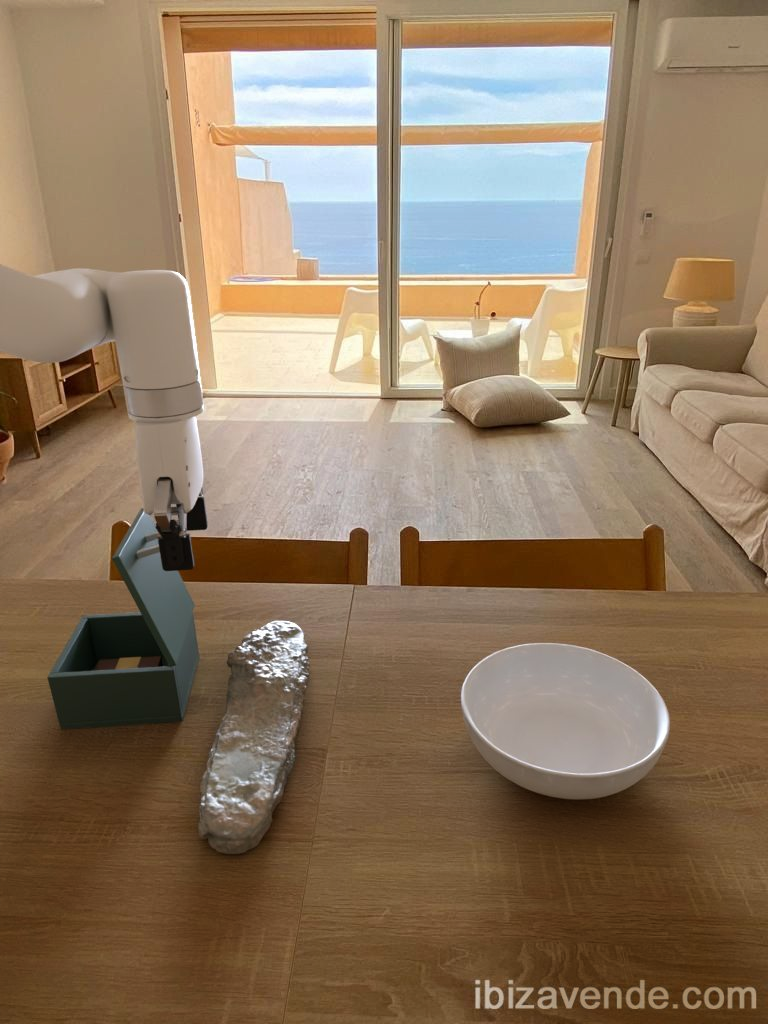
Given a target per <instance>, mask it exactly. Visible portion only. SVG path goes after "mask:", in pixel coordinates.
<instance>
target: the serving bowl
mask: <svg viewBox="0 0 768 1024" xmlns="http://www.w3.org/2000/svg"><path fill="white" fill-rule="evenodd" d="M460 705H461V711H462V717H463V721H464V725H465V728H466V731H467V733H468V736H469V738H470V740H471V742H472V744H473V745H474V747H475V749H476V750H477V751H478V753H479V755H480V756H481V757H482V758H483V759H484V760H485V761H486V762H487V763H488V764H489V765H490V766H491V768H493V769H494V770H495V771H496V772H498V773H499V774H500V775H502V776H503V777H504V778H505V779H507V780H509V781H510V782H512V783H514V784H515V785H517V786H519V787H521V788H523V789H526V790H528V791H531V792H533V793H536V794H539V795H543V796H547V797H551V798H556V799H557V798H558V799H564V800H592V799H601V798H604V797H608V796H611V795H614V794H617V793H620V792H622V791H624V790H627V789H628V788H630V787H632V786H633V785H635V784H637V783H638V782H639V781H641V780H642V779H643V778H644V777H645V776H646V775H648V773H649V772H650V771H651V770H652V769H653V768H654V766H655V765H656V764H657V762H658V761H659V759H660V757H661V755H662V753H663V751H664V750H665V747H666V744H667V742H668V740H669V736H670V732H671V719H670V713H669V710H668V707H667V704H666V702H665V700H664V699H663V697H662V696H661V694H660V693H659V691H658V690H657V689H656V687H655V686H654V685H653V684H652V683H651V682H650V681H649V680H648V679H647V678H645V676H643V675H642V674H641V673H639V671H637V670H636V669H634V668H632V667H631V666H630V665H627V664H626V663H624V662H623V661H620V660H618V659H617V658H614V657H612V656H609V655H607V654H605V653H603V652H599V651H597V650H594V649H591V648H587V647H583V646H578V645H573V644H565V643H554V642H553V643H552V642H538V643H537V642H536V643H525V644H519V645H514V646H510V647H506V648H504V649H501V650H498V651H496V652H493V653H492V654H489V655H488V656H486V657H484V658H483V659H481V660H480V661H479V662H478V663H477V664H475V665H474V667H472V669H471V670H470V671H469V673H468V674H467V676H466V677H465V679H464V682H463V684H462V687H461V693H460Z"/></svg>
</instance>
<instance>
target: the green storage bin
mask: <svg viewBox="0 0 768 1024" xmlns="http://www.w3.org/2000/svg"><path fill="white" fill-rule="evenodd" d="M155 656H162V662H163V667H147V668H131V669H115V670H98V671H94V670H95V668H96V666H97V664H98V662H99V660H104V659H120V658H128V657H155ZM199 660H200V650H199V643H198V637H197V631H196V624H195V617H194V612H193V613H192V616H191V619H190V622H189V626H188V629H187V632H186V635H185V639H184V642H183V645H182V648H181V652H180V655H179V658H178V661H177V664H176V665H175V666H172V667H170V666H169V665H168V663H167V661H166V659H165V657H164V655H163V653H162V652H161V650H160V648H159V646H158V644H157V642H156V640H155V638H154V637H153V635H152V633H151V631H150V629H149V627H148V625H147V623H146V622H145V620H144V618H143V616H142V614H141V612H140V611H138V612H120V613H102V614H101V613H100V614H85V615H82V616H81V618H80V620H79V622H78V623H77V625H76V626H75V628H74V630H73V631H72V634H71V635H70V637H69V638H68V640H67V642H66V644H65V646H64V648H63V649H62V651H61V653H60V655H59V656H58V658H57V660H56V661H55V663H54V665H53V667H52V668H51V670H50V671H49V674H48V676H47V682H48V685H49V691H50V693H51V697H52V701H53V705H54V708H55V714H56V716H57V721H58V723H59V724H58V725H59V728H60V730H78V729H79V730H80V729H92V728H105V727H107V728H108V727H121V726H135V725H136V726H137V725H151V724H153V725H154V724H166V723H167V724H168V723H181V722H183V720H184V717H185V713H186V710H187V705H188V701H189V697H190V693H191V690H192V687H193V683H194V679H195V676H196V671H197V668H198V663H199Z"/></svg>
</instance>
